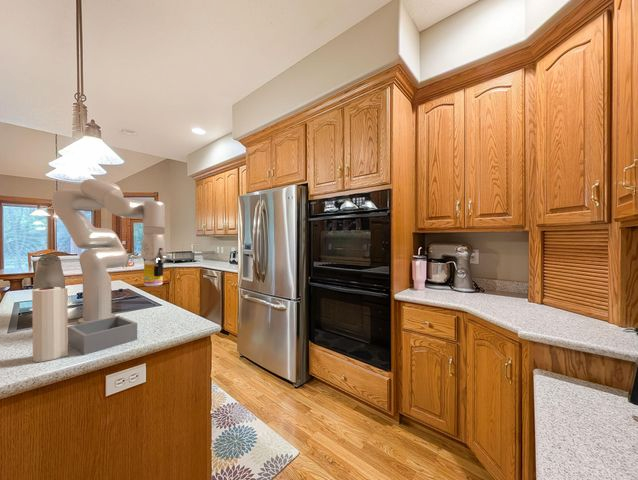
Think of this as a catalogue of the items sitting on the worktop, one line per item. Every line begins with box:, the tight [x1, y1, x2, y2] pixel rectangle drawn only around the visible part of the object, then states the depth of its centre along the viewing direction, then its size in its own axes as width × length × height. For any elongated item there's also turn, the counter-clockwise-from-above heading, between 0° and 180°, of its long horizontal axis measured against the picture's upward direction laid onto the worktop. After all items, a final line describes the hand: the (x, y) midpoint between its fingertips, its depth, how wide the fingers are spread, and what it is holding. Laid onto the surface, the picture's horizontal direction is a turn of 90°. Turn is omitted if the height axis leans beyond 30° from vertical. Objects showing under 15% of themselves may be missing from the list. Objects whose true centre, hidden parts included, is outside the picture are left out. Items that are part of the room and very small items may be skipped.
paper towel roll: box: [31, 287, 69, 363], centre depth 81 cm, size 7×6×21 cm
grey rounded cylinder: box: [32, 254, 66, 290], centre depth 120 cm, size 10×10×28 cm
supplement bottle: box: [143, 257, 164, 287], centre depth 109 cm, size 7×7×13 cm
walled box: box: [68, 315, 138, 356], centre depth 94 cm, size 15×15×6 cm
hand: (153, 274), depth 109 cm, fingers closed on supplement bottle, 6 cm apart
